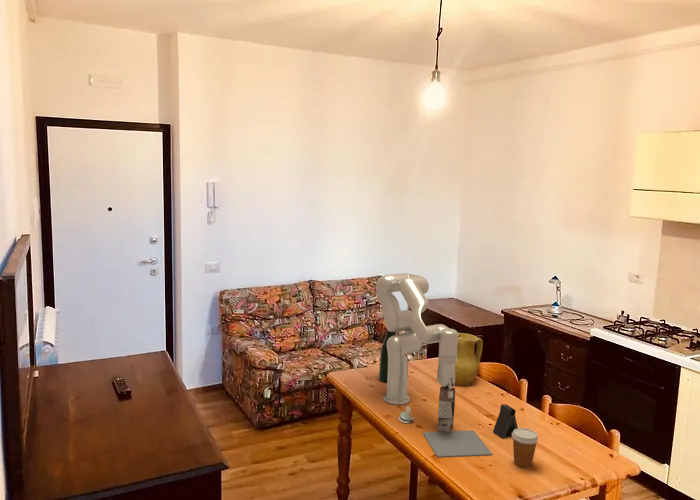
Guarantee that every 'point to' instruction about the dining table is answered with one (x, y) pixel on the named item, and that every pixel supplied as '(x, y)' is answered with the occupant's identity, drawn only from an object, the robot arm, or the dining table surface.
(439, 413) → the coffee box
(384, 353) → the dark green bottle
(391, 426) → the dining table surface
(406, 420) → the pacifier
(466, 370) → the pitcher
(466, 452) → the mat
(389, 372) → the robot arm
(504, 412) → the phone stand
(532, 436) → the disposable coffee cup
